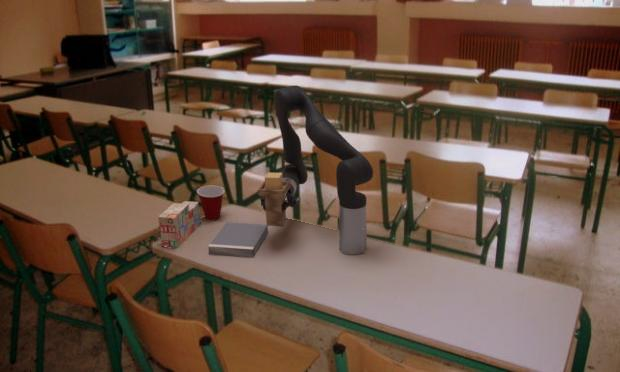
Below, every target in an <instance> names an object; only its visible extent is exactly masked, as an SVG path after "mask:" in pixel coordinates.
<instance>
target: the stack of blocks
mask: <svg viewBox="0 0 620 372" xmlns="http://www.w3.org/2000/svg"><path fill="white" fill-rule="evenodd" d="M158 224H159V226H158V227H159V232H160V239H161V246H167V247H166V248H168V247H173V248H172V249H179V248H180V247H181V246H182V245H183V244H184V243H185V242H186V241H185V240H186V239H187V240H188V238H189V237H190V236H191V235H192V234H193V233H194V231H196V230H197V228H199V227H200V225H201V224H202V218H201V209H200V202H199V201H186V200H185V201H183V202H182V203H175V202H173V203H172V204H171V205H170V206H169V207H167V208H166V209H165V211H163V212H162V213H160V214H159V216H158ZM184 241H185V242H184ZM183 242H184V243H183ZM182 243H183V244H182ZM181 244H182V245H181ZM180 245H181V246H180ZM179 246H180V247H179ZM178 247H179V248H178Z"/></svg>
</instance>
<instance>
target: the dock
mask: <svg viewBox="0 0 620 372" xmlns="http://www.w3.org/2000/svg"><path fill="white" fill-rule="evenodd" d="M268 227H269V226H267V224H264V223H261V224H259V223H246V222H233V221H232V222H229V221H226V222H225V224H224V225H223V226H222V228H221V229H220V231H219V232H218V233H217V234H216V236H215V237H214V238H213V239H212V241H211V242H210V243H209V244H208V245H207V246H208V255H217V256H230V257H242V258H244V257H245V258H254V257H255V255H256V254H257V252H258V250H259V248H260V247H261V245H262V243H263V241H264V240H265V238H266V236H267V234H268V232H269V229H268Z"/></svg>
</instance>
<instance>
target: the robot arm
mask: <svg viewBox="0 0 620 372" xmlns="http://www.w3.org/2000/svg"><path fill="white" fill-rule="evenodd" d="M273 101H274V107H275V113H276V117H277V122H278V127H279V129H280V134H281V139H282V148H283V149H282V150H283V160H284V162H285V163H287V164H288V165H289V164H290V165H289V166H284V167H283V168H282V169H281V171H280V173H282V174H283V181H290V188H289V190H288V191H287V193H286V194H285V202H283V204H282V206H281V208H282V211H284V210H286V211H287V209H288V208H289V207H290V208H294V207H296V206H297V204H298V203H299V202H300V196H299V194H296V191H297V189H298V187H299V186H300V185H304V184H305V183H306V182H307V180H308V176H309V175H308V171H307V168H306V166H305V162H304V160H303V154H302V142H301V139H300V136H299V134H298V133H297V132H296V131H295V129H294V128H293V127H292V124H291V123H290V121H289V113H291V112H296V111H300V112H301V113H302V114H303V116H304V117H305V124H304V126H305V133H306V136H307V138H308V139H309V140H310V141H311V142H312V143H313V145H315V147H316V148H317V149H319V150H320V151H322V152H325V153H327V154H329V155H331V156H333V157H335V158H338V159H339V160H341V161H339V162H338V164H337V165H336V171H335V172H336V173H335V175H336V193H337V198H338V200H339V201H338V207H339V209H338V211H339V212H338V216H339V217H338V218H339V221H338V222H339V223H338V224H339V225H338V230H339V233H338V236H339V239H338V240H339V241H338V243H339V246H338V247H339V251H340V252H341V253H343V254H346V255H351V256H352V255H353V256H354V255H356V256H357V255H359V254H361V255H362V254H365V253H366V249H367V237H368V236H367V233H368V232H367V227H368V226H367V225H368V223H367V196H366V195H365V194H364V193H362V192H360V191H356V186H360V185H363V184H366V183H368V182H370V181H371V180H372V178H373V177H374V170H373V167H372V164H371V163H370V161H369V160H368V159H367V157H365V156H364V155H363V154H362V153H361V152H359V151H358V150H357V149H356V148H355V146H353V145H352V144H351V143H349V142H348V140H346V138H345V137H344V136H343V135H342V134H341V133H340V132H339V131H338V130H337V128H335V126H334V125H333V124H332V123H331V122H330V121H329V120H328V119H327V118H326V117H325V116H324V114H323V113H322V112H321V111H320V110H319V109H318V108H317V106H316V105H315V104H314V102H313V101H312V100H311V98H310V97H309V96H308V93H307V92H306V91H305V90H304V89H303V87H301V86H300V85H290V86H287V87H282V88H278V89H276V90H275V92H274V95H273ZM291 165H292V166H291ZM260 206H262V209H263V211H264V212H266V207H265V196H260Z"/></svg>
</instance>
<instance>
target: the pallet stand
mask: <svg viewBox="0 0 620 372" xmlns="http://www.w3.org/2000/svg"><path fill="white" fill-rule="evenodd" d="M289 188H290V181H283V188H282V189H281V190H265V180H264V181H263V182H262V184H261V186H260V187H259V188H258V189H257V192H258V193H257V194H258V196H260V197H261V196H265V207H266V211H265V218H266V219H265V220H266V225H267V226H268V227H271V226H272V227H283V226H284V224H285V222H286V220H287V215H286V214H287V213H286V212H287V209H286V210H284V211H282V208H281V206H282V204H283V202H285V194H286V193H287V191H288V190H289Z"/></svg>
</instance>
